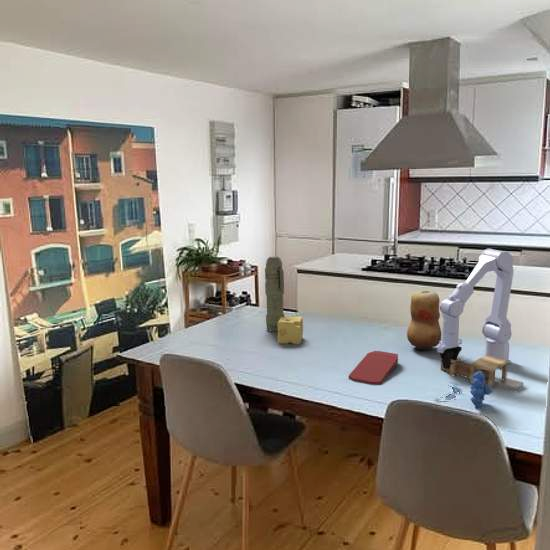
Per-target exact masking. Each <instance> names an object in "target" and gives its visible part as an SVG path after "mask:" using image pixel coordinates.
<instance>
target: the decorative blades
mask: <svg viewBox="0 0 550 550" xmlns="http://www.w3.org/2000/svg"><path fill="white" fill-rule="evenodd" d="M452 384H453V386H454V387H452V386H450V385H449V386H450V387H452V389H453V392H454V393H452V394H449V393H448V394H449V395H448V394H447V395H448V396H446V397H445V396H443V397H445V398H446V399H445V400H451V399H453V398H456V396H455V395H456V394H455V393H457V392H459V393H460V392H461V391H462V389H461V388H460V387H459V386H458V385H457V384H454V383H452ZM457 386H458V387H459V388H458V387H457ZM460 390H461V391H460ZM461 393H462V392H461ZM443 397H441V398H443ZM435 401H439V399H435Z"/></svg>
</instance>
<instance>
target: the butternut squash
mask: <svg viewBox="0 0 550 550" xmlns="http://www.w3.org/2000/svg"><path fill="white" fill-rule="evenodd" d="M440 302H441V301H440V297H439V295H438V293H436V292H435V291H434V290H430V289H419V290H418V291H415V292H414V293H412V295H411V298H410V305H409V308H410V315H411V319H410V323H409V325H408V328H407V331H406V337H407V341H408V342H409V343H410V345H411V346H414V347H415V348H417V349H418V350H422V351H428V350H429V349H431V348H434V347H438V346H439V345H440V343H439V341H441V340H442V329H441V326H440V325H441V324H440V322H439V320H440V317H441V313H440Z"/></svg>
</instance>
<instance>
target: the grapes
mask: <svg viewBox="0 0 550 550" xmlns="http://www.w3.org/2000/svg"><path fill="white" fill-rule="evenodd" d="M473 377H474V378H475V379H474V380H472V381H471V383H470V384H472V385H471V386H470V387H469V388H470V390H469V392H470V394H471V395H472V397H470V401H471V403H472V404H473V405H474V407H476V408H480V407H481V406H482V405H483V404H484V402H483V401H484V400H485V396H487V395H488V396H489V395H491V394H492V393H493V392H494V390H493V388H490V386H488V384H487V385H486V383H487V382H486V381H485V379H484V377H485V375H484V373H483V372H482V371H477V372H476V373H474V374H473Z"/></svg>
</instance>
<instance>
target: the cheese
mask: <svg viewBox="0 0 550 550" xmlns="http://www.w3.org/2000/svg"><path fill="white" fill-rule="evenodd" d="M303 322H304V321H303V316H285V317H280V320H279V321H278V332H277V343H278V344H292V343H293V345H301V343H302V339H303V333H304V323H303Z"/></svg>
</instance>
